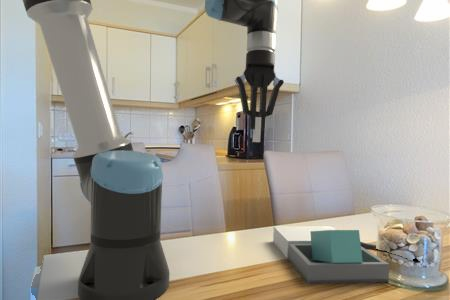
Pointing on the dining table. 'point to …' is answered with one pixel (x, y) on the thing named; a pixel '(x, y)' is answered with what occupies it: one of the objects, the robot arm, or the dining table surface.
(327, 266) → the tray
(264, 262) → the dining table surface
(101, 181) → the robot arm
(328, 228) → the white flat box
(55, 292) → the dining table surface
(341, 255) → the block
